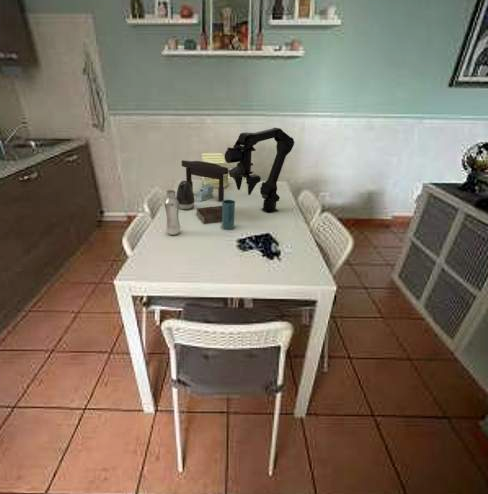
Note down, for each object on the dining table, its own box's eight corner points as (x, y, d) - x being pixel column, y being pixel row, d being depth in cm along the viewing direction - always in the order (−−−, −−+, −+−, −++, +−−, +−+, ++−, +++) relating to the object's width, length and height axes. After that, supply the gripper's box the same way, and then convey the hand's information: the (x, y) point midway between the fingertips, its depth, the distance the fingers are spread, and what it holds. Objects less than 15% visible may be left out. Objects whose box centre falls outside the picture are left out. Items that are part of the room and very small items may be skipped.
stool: (220, 169, 172) (172, 161, 188) (220, 207, 182) (174, 196, 198) (235, 164, 184) (189, 156, 199) (234, 199, 194) (190, 190, 209)
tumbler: (225, 224, 161) (226, 198, 155) (236, 226, 159) (237, 201, 152) (219, 228, 157) (219, 202, 151) (230, 230, 154) (230, 204, 148)
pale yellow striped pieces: (229, 190, 210) (230, 162, 201) (205, 191, 208) (204, 163, 199) (224, 178, 236) (224, 153, 227) (202, 178, 234) (201, 153, 225)
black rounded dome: (172, 209, 178) (170, 182, 171) (182, 203, 187) (180, 177, 179) (189, 212, 175) (188, 184, 168) (198, 206, 183) (197, 179, 176)
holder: (221, 211, 177) (221, 205, 176) (231, 220, 165) (231, 214, 164) (196, 214, 173) (195, 208, 171) (203, 224, 161) (203, 218, 159)
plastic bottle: (183, 231, 153) (181, 190, 143) (176, 237, 147) (173, 194, 137) (171, 229, 154) (167, 188, 145) (164, 235, 149) (160, 192, 139)
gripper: (220, 158, 160) (220, 189, 167) (242, 166, 146) (241, 200, 154) (239, 156, 165) (238, 186, 173) (262, 164, 151) (260, 196, 159)
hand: (243, 192), depth 164 cm, fingers open, 9 cm apart
